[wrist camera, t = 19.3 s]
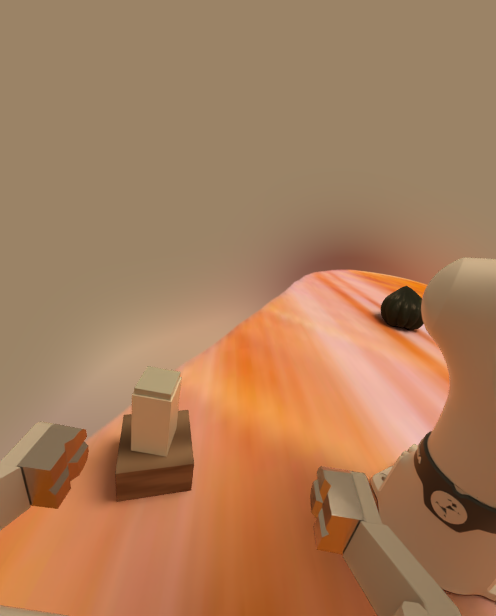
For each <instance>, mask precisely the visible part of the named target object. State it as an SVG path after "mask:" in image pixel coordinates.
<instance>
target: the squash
mask: <svg viewBox="0 0 496 616" xmlns="http://www.w3.org/2000/svg"><path fill="white" fill-rule="evenodd" d="M421 303H422V298H421V297H420V296H419V295H418V294H417V293H416V292H415V291H413V290H412V289H411V288H409V287H408V286H405V287H402V288H400V289H399V290H397V291H395V292H393V293H392V294H390V295H389V296H387V297H386V298H385V299H384V301H383V303H382V305H381V315H382V317H383V319H384V320H385V321H386V322H388V323H389V325H391V326H399V327H405V328H407V329H410V330H414V329H418V328H420V327H421V326H422V325H423V324H424V323H423V319H422V314H421Z"/></svg>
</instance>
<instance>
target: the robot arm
mask: <svg viewBox="0 0 496 616" xmlns="http://www.w3.org/2000/svg"><path fill="white" fill-rule="evenodd" d="M421 314H422V319H423V323H424V325H425V328H426V330H427V331H428V333H429V334H430V336H431V337H432V338H433V340H434V341H435V342H436V344H437V345H438V347H439V348H440V350H441V352H442V354H443V356H444V359H445V361H446V364H447V368H448V371H449V379H450V386H449V394H448V398H447V401H446V403H445V406H444V408H443V411H442V413H441V415H440V417H439V419H438V421H437V423H436V425H435V427H434V429H433V431H431V432H429V433H428V434H426V436H425V437H424V438H423V440H421V442H420V443H419V445H416V444H413V445H412V446H411V447H410V448H409V449H408V451H404V452H403V453H402V454H401V456H400V457H399V458H398V459H397V461H396V462H395V464H394V465H393V466H391V467H389V468H387V469H385V470H383V471H381V472H379V473H377V474H375V475H374V476H373V477H372V478H371V480H370V482H371V486H372V488H373V490H374V493H375V495H376V497H377V500H378V509H379V512H378V509H377V506H376V503H375V500H374V497H373V494H372V491H371V488H370V485H369V482H368V479H367V476H366V475H365V474H364V473H360V472H353V471H348V470H342V469H335V468H328V467H322V466H321V467H320V468H319V469H318V471H317V478H318V479H317V480H315V481H314V482H313V485H312V488H311V496H310V499H311V511H312V513H313V515H314V516H315V518H316V522H315V524H314V534H315V541H316V549H317V550H321V551H327V552H332V553H337V554H343V558H344V559H345V561H346V563H347V565H348V566H349V568H350V570H351V571H352V573H353V575H354V576H355V578H356V580H357V582H358V583H359V585H360V587H361V588H362V590H363V592H364V593H365V595H366V597H367V599H368V600H369V602H370V604H371V605H372V607H373V609H374V610H375V612H376V614H377V616H462V615H461V613H460V611H459V609H458V607H457V606H456V605H455V604H454V603H453V601H452V600H451V599H450V598H449V597H448V596H447V594H446V593H445V592H444V591H443V590H442V589H444V590H446V591H449V592H452V593H456V594H461V595H474V594H476V595H482V596H484V597H487V598H489V599H491V600H494V601H496V259H481V258H462V259H459V260H457V261H455V262H453V263H451V264H449V265H448V266H446V267H444V268H443V269H442V270H441V271H440V272H438V273H437V274H436V275H435V276H434V277H433V279H432V280H431V281H430V283H429V284H428V286H427V287H426V289H425V292H424V294H423V298H422V303H421ZM86 437H87V433H86V430H85V429H79V428H74V427H69V426H64V425H58V424H52V423H47V422H39V423H37V424H35V425H34V426H33V427H32V428H31V429H30V430H29V431H28V432H27V433H26V434H25V436H24V437H23V438H22V439H21V440H20V441H19V442H18V443H17V444H16V445H15V446H14V447H13V448H12V450H11V451H10V452H9V453H8V454H7V455H6V456H5V457H4V458H3V459H2V460H1V461H0V530H2V529H3V528H4V527H5V526H7V525H8V524H9V523H11V522H12V521H13V520H15V519H16V518H17V517H19V516H20V515H21V514H22V513H24V512H25V511H26V510H28V509H29V508H30V507H31V506H39V507H47V508H55V509H58V508H59V506H60V505H61V503H62V502H63V500H64V498H65V497H66V495H67V494H68V492H69V491H70V489H71V484H70V481H71V480H73V479H74V478H76V477H77V476H79V474H80V473H81V471H82V470H83V468H84V466H85V463H86V461H87V458H88V452H89V450H88V445H87V444H86V443H85V442H84V440H85V439H86ZM383 480H384V481H383ZM30 505H31V506H30ZM441 588H442V589H441ZM0 616H67V615H61V614H55V613H48V612H42V611H35V610H29V609H22V608H16V607H9V606H3V605H0Z"/></svg>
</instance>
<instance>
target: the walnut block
mask: <svg viewBox="0 0 496 616" xmlns="http://www.w3.org/2000/svg"><path fill="white" fill-rule="evenodd" d="M131 420H132V414H130V415H124V417H123V424H122V431H121V438H120V445H119V452H118V459H117V465H116V472H115V478H116V495H117V502H119V501H125V500H131V499H138V498H144V497H151V496H157V495H164V494H170V493H176V492H183V491H189V490H191V486H192V477H193V468H194V460H193V450H192V441H191V431H190V422H189V412H188V410H183V411H178V418H177V427H176V431H175V434H174V437H173V440H172V442H171V445H170V448H169V451H168V454H167V457H166V456H160V455H154V454H149V453H143V452H137V451H131Z"/></svg>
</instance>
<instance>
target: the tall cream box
mask: <svg viewBox="0 0 496 616" xmlns="http://www.w3.org/2000/svg"><path fill="white" fill-rule="evenodd" d="M180 374H181V372H178V371H172V370H166V369H161V368H156V367H150V366H148V367H147V368H146V370H145V371H144V373H143V375H142V376H141V378H140V380H139V381H138V383H137V385H136V386H135V388H134V393H133V394H132V420H131V451H137V452H143V453H149V454H154V455H160V456H166V457H167V454H168V451H169V448H170V445H171V442H172V440H173V437H174V434H175V431H176V427H177V418H178V409H179V399H180V390H181V380H182V377H180Z"/></svg>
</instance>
